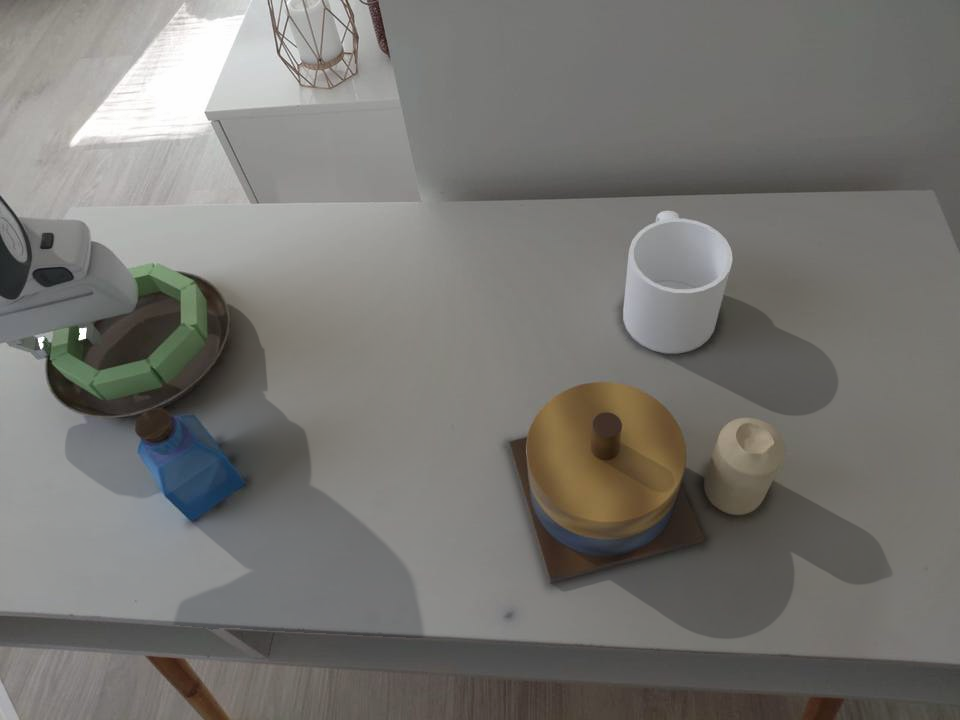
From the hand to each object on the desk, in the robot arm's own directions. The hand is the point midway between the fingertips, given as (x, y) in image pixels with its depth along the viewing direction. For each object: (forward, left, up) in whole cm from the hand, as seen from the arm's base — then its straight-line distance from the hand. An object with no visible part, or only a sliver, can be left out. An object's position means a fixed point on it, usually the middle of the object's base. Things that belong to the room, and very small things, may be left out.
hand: (70, 347), depth 83 cm
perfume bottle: (+13, -18, -4) cm, 23 cm away
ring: (+7, 0, +1) cm, 7 cm away
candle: (+63, -33, -4) cm, 71 cm away
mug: (+65, -11, -4) cm, 66 cm away
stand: (+51, -30, -4) cm, 60 cm away
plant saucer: (+7, 0, -4) cm, 8 cm away
